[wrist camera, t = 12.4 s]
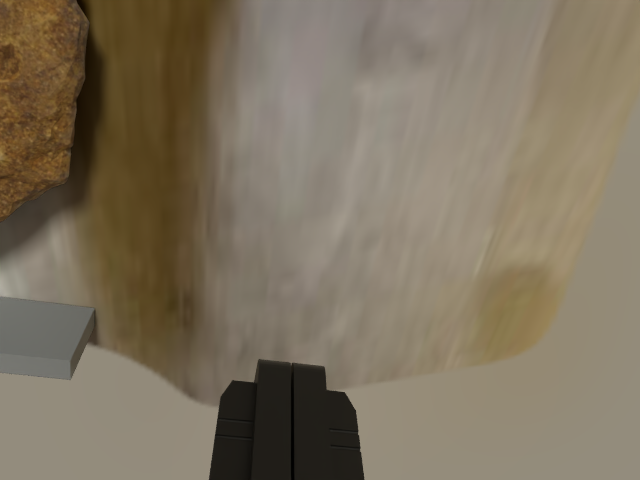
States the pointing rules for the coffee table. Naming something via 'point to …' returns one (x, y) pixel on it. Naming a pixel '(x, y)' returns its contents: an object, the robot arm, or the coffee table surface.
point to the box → (43, 337)
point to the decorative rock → (38, 95)
